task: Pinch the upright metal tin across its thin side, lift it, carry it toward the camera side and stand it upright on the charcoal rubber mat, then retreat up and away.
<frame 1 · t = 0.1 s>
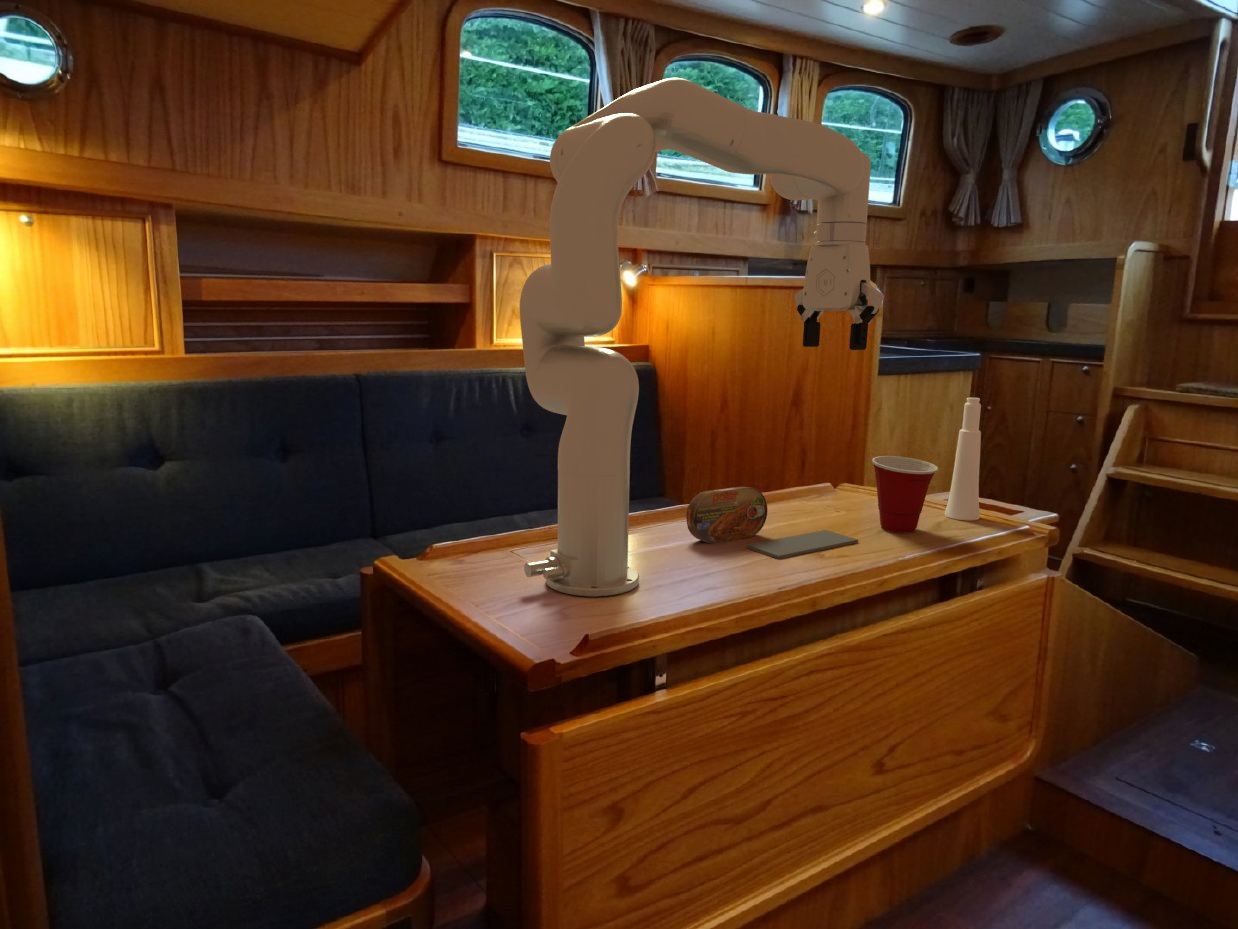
hand: (833, 348, 135), 31 cm above the table, fingers open, 9 cm apart
cosmetic bottle: (961, 517, 157), on the table
mat: (803, 545, 136), on the table
plastic cup: (899, 530, 147), on the table
tin: (725, 539, 140), on the table
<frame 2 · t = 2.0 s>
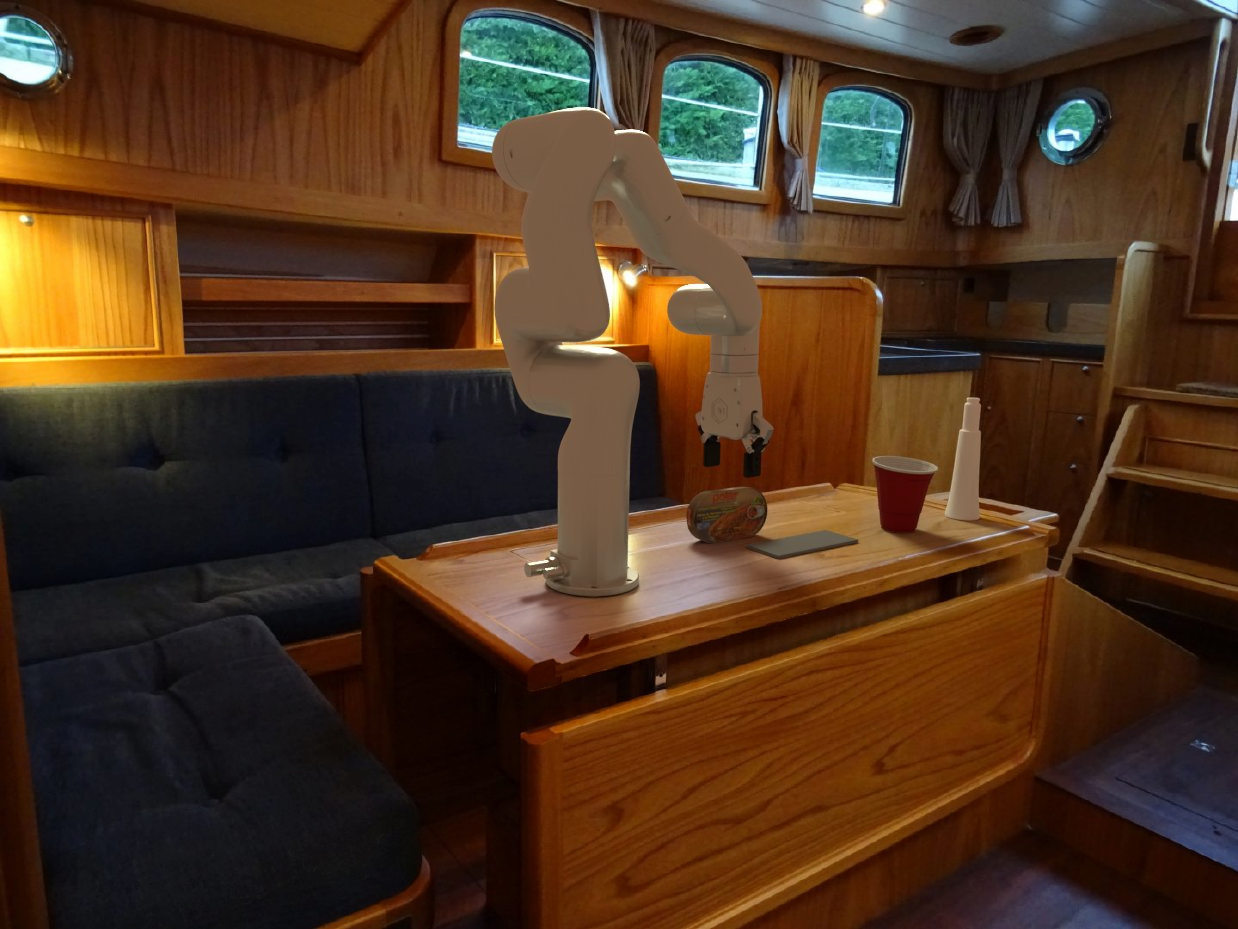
hand: (731, 471, 138), 11 cm above the table, fingers open, 9 cm apart
nothing on the table moved.
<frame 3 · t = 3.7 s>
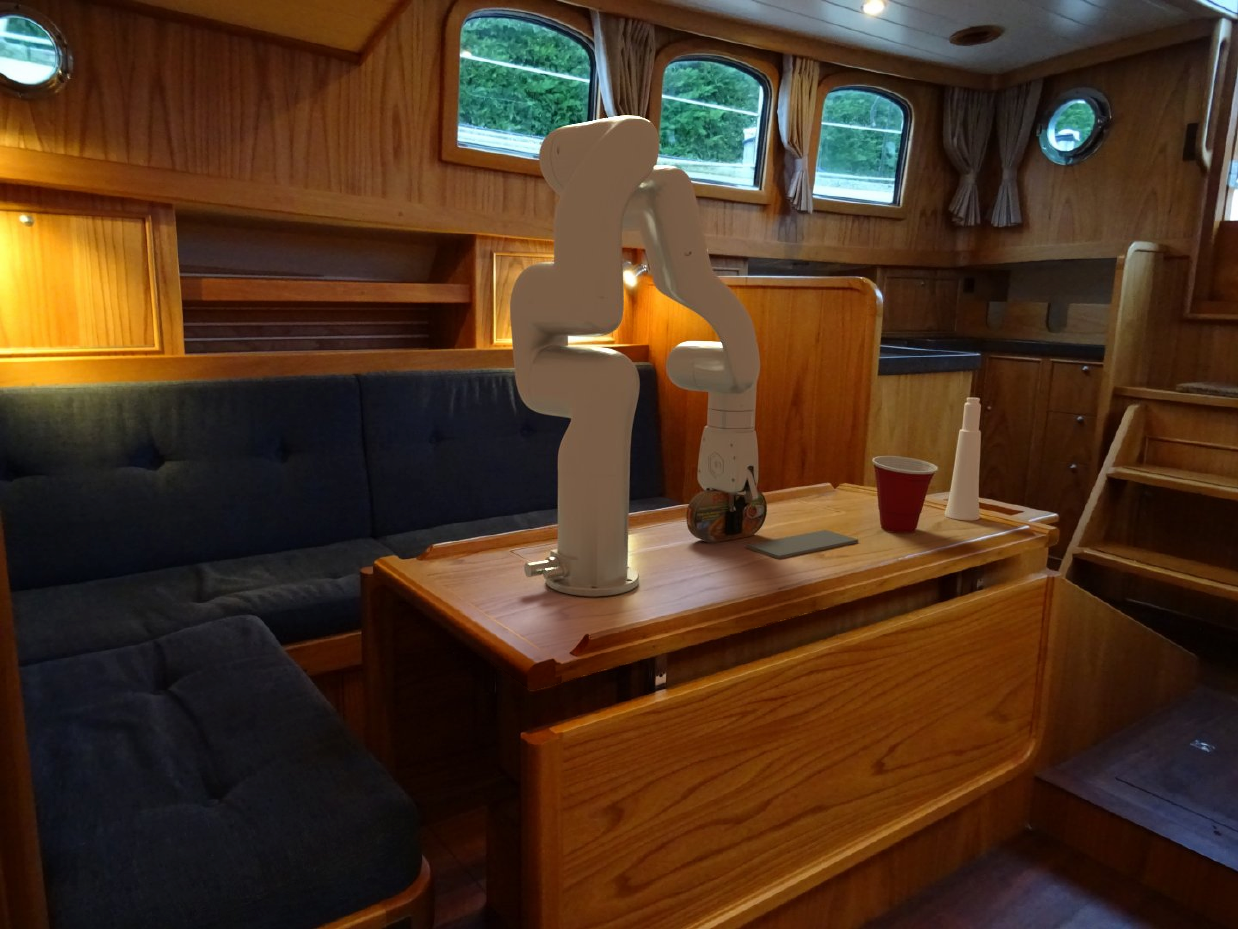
hand: (726, 530, 139), 1 cm above the table, fingers closed on tin, 2 cm apart
tin: (724, 538, 140), on the table, touching gripper
everything else where it was.
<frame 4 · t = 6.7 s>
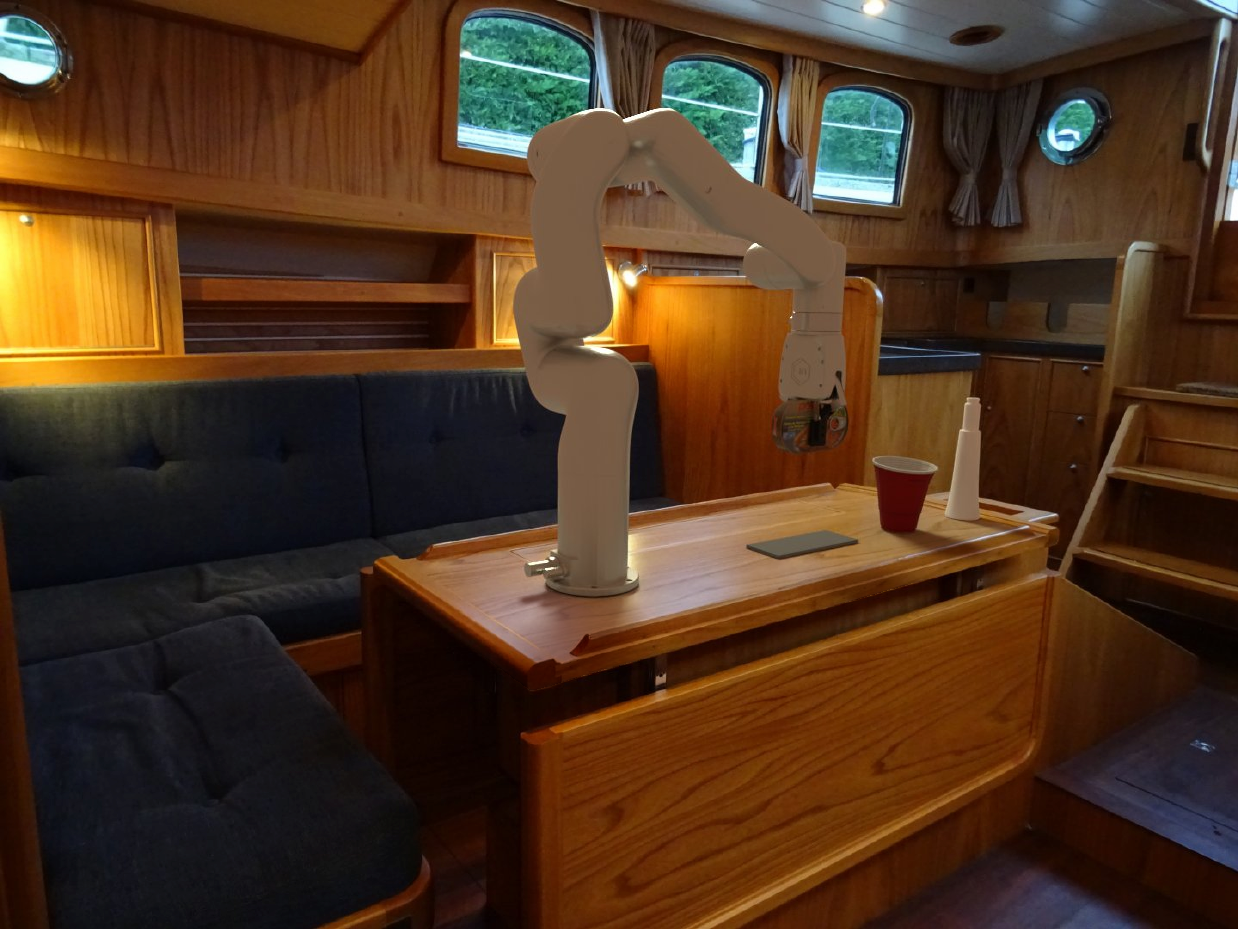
hand: (809, 443, 133), 17 cm above the table, fingers closed on tin, 2 cm apart
tin: (807, 452, 134), point 15 cm above the table, touching gripper
everything else where it was.
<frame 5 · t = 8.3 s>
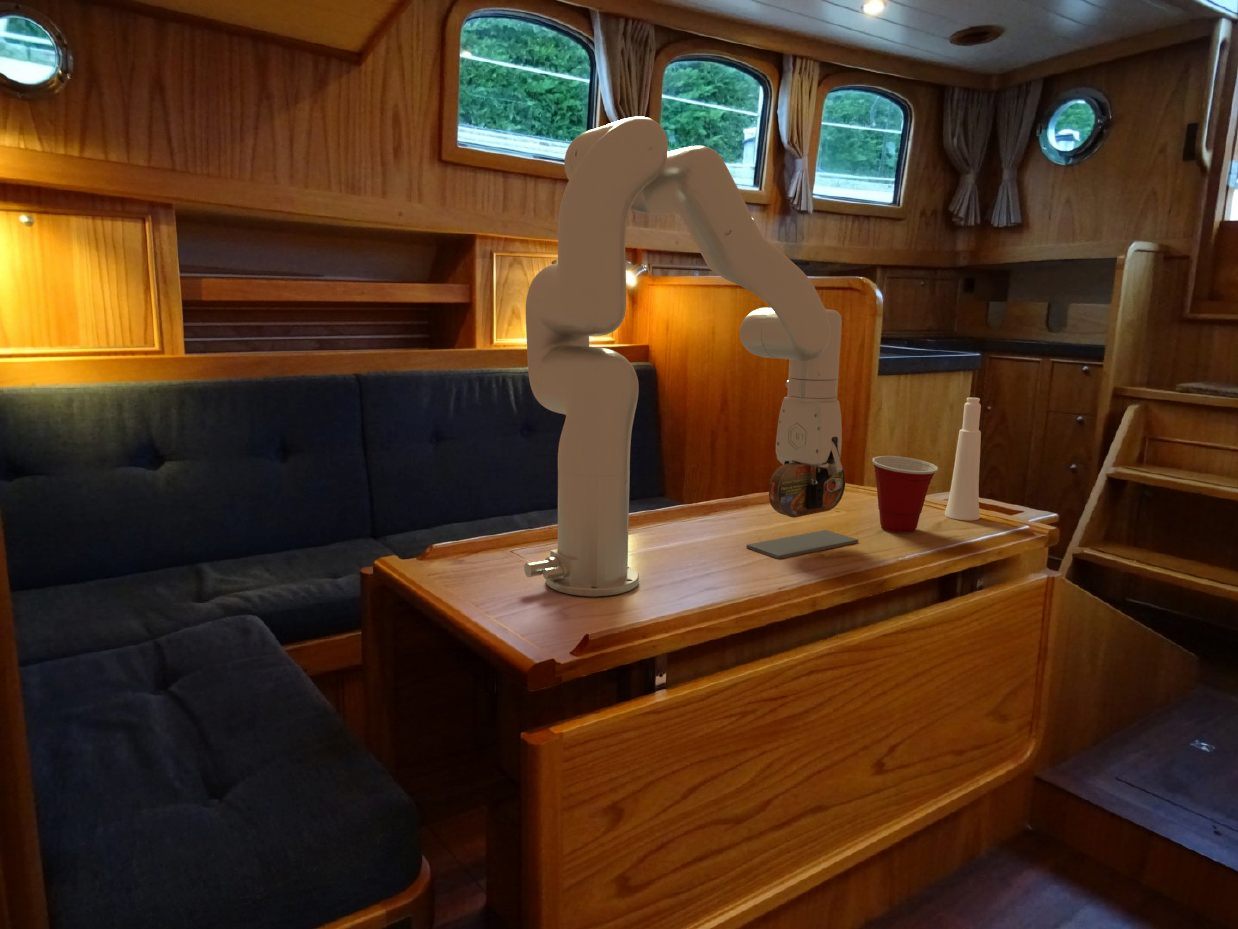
hand: (806, 505, 135), 7 cm above the table, fingers closed on tin, 2 cm apart
tin: (804, 513, 136), point 5 cm above the table, touching gripper
everything else where it was.
when the fingers open (2 cm above the table, at t = 9.8 s): tin stays where it is, resting on mat.
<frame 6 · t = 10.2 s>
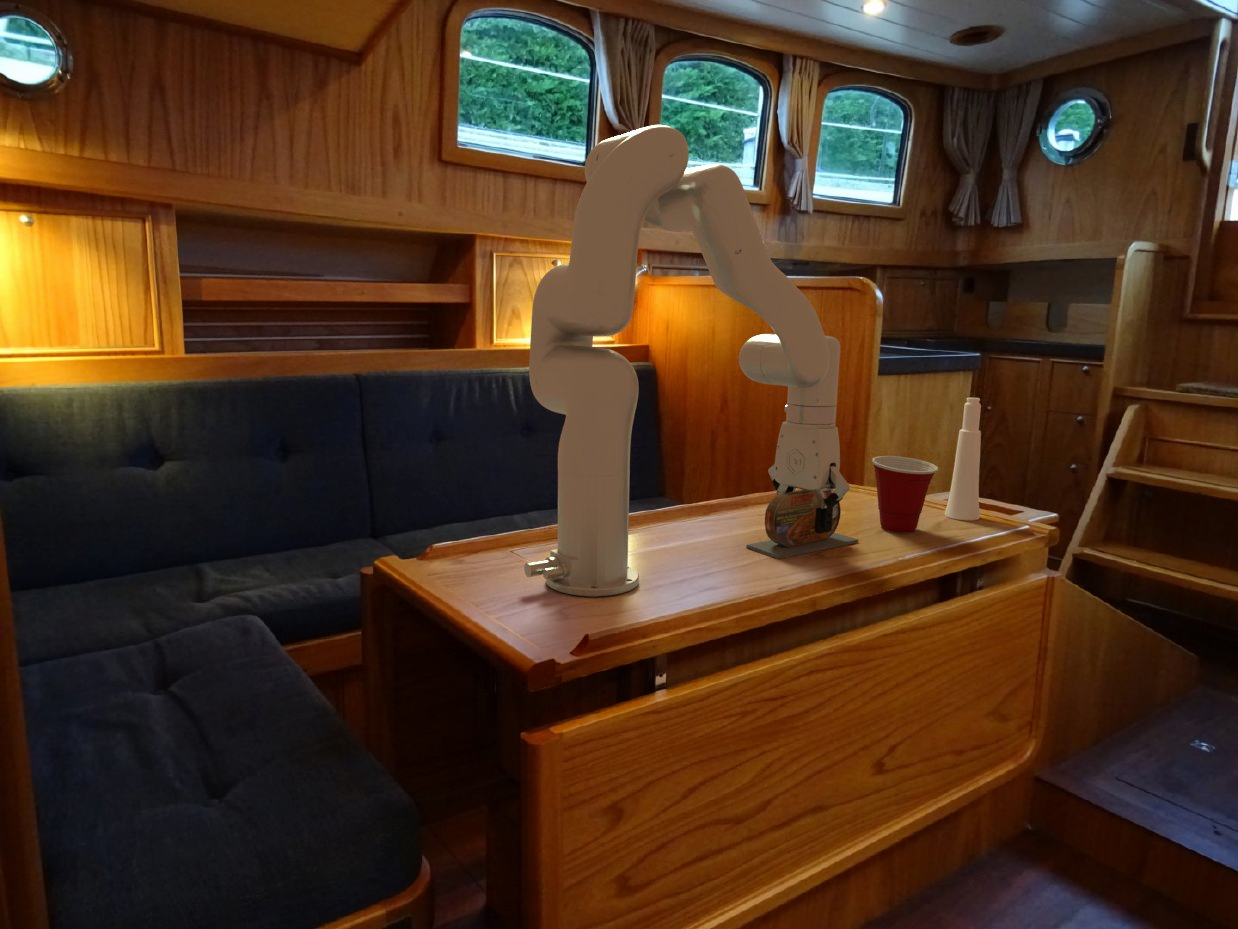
hand: (804, 525, 136), 3 cm above the table, fingers open, 7 cm apart
tin: (800, 542, 136), resting on mat
everything else where it was.
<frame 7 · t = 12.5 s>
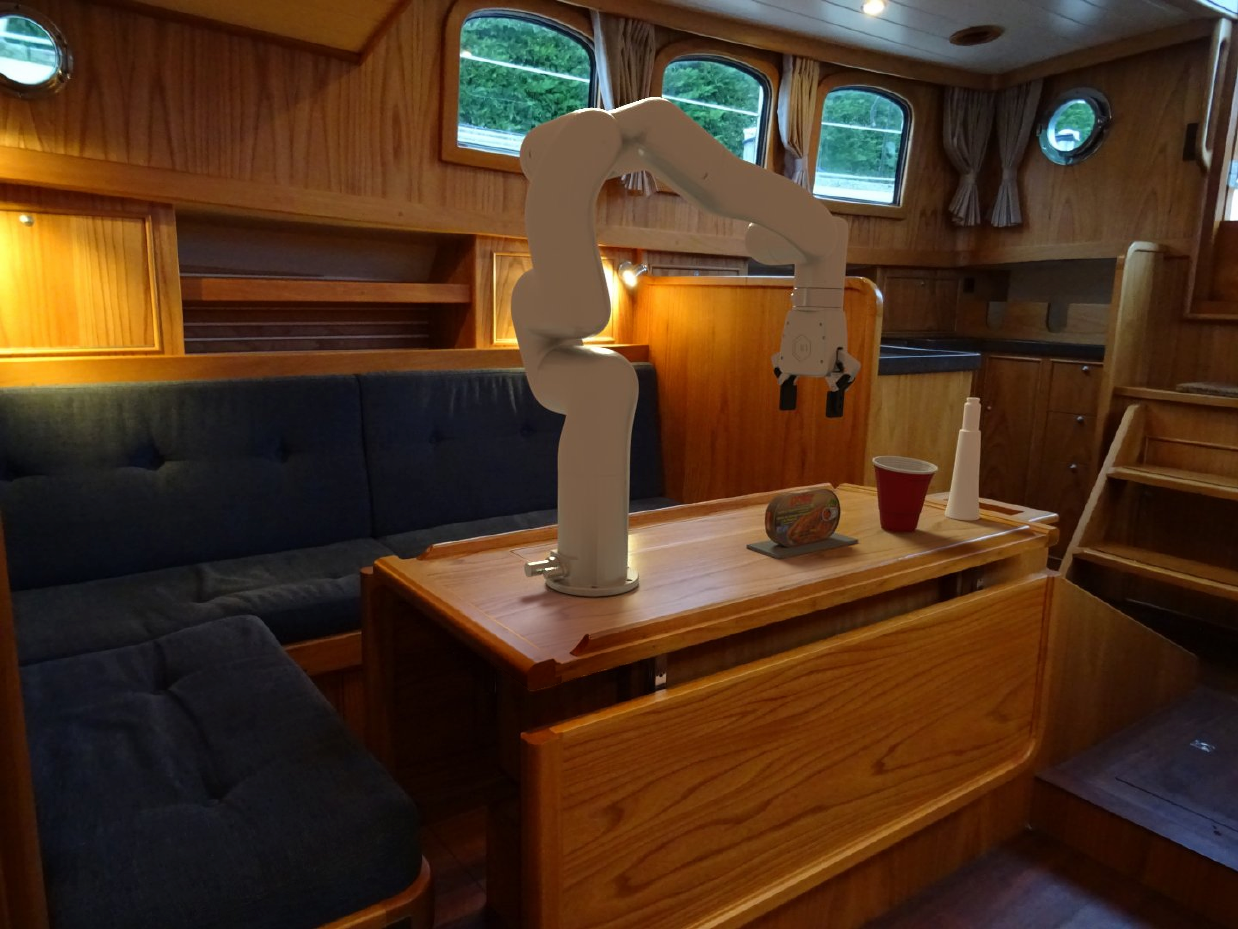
hand: (810, 413, 132), 21 cm above the table, fingers open, 9 cm apart
nothing on the table moved.
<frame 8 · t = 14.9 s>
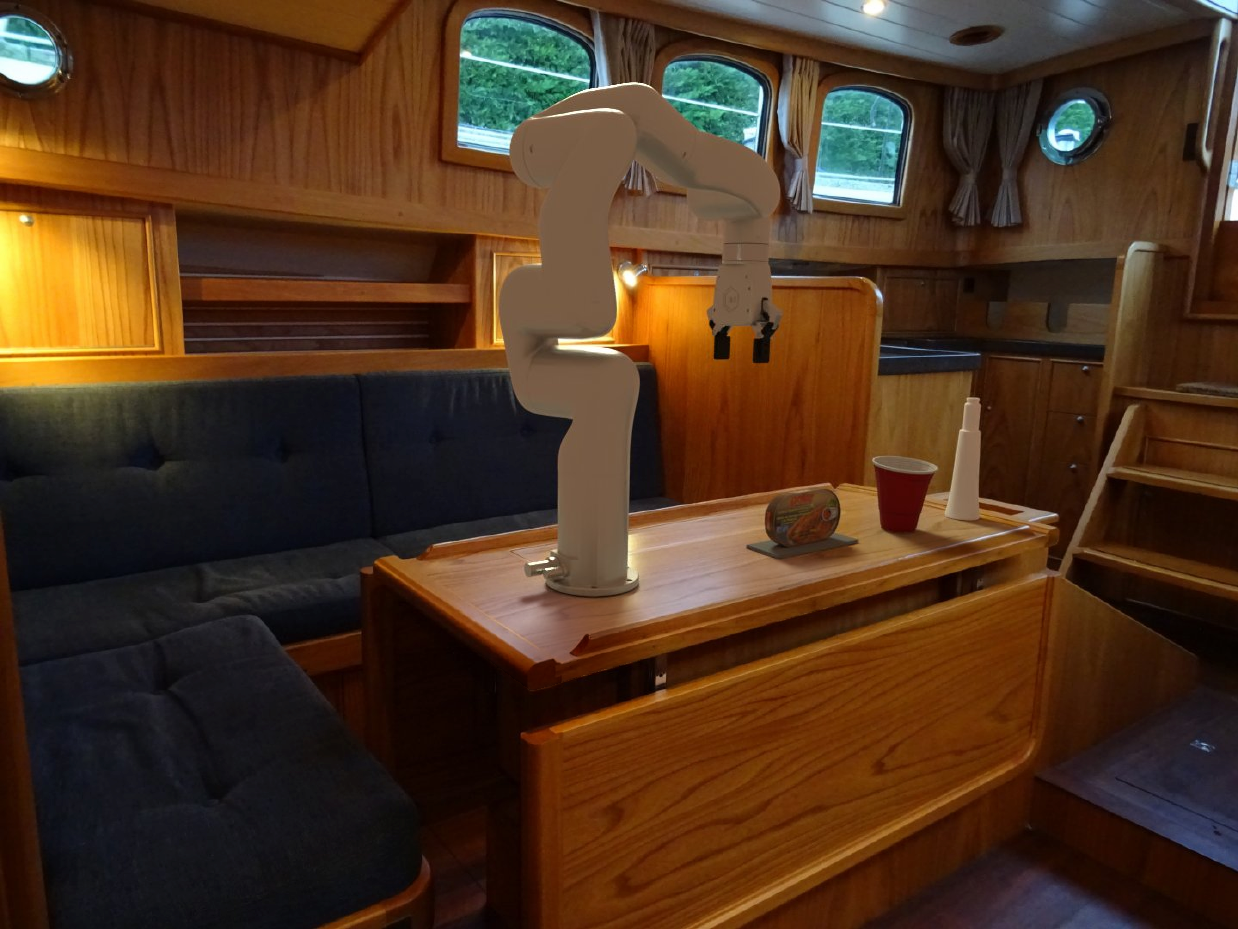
hand: (740, 361, 143), 28 cm above the table, fingers open, 9 cm apart
nothing on the table moved.
at the end: tin 0.4 cm off-centre on the mat, point 0.3 cm above the mat's base; tin tilted 0°; the gripper is holding nothing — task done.
